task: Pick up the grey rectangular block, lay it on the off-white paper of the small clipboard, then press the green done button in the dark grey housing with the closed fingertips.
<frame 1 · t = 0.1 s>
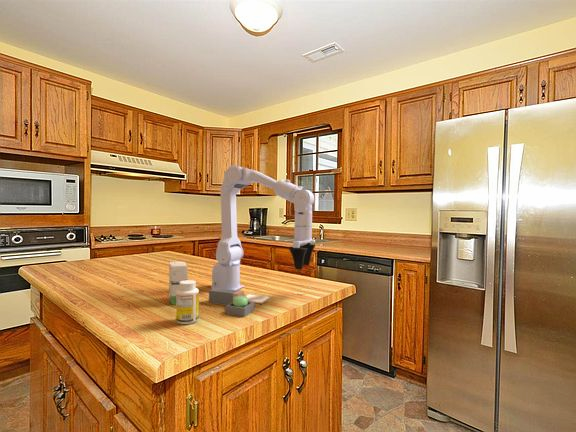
hand: (302, 267, 102), 10 cm above the counter, fingers open, 7 cm apart
done button: (240, 302, 87), point 3 cm above the counter, slide at 0.0 cm
grey rectangular block: (226, 302, 95), on the counter
ink box: (178, 301, 96), on the counter
sheet: (254, 299, 99), on the counter
button housing: (240, 311, 87), on the counter
supplement bottle: (187, 321, 79), on the counter
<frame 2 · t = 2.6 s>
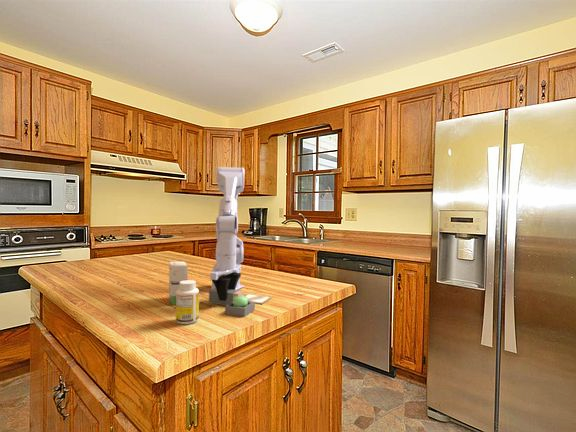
hand: (226, 298, 95), 1 cm above the counter, fingers closed on grey rectangular block, 4 cm apart
grey rectangular block: (226, 302, 95), on the counter, touching gripper
everything else where it was.
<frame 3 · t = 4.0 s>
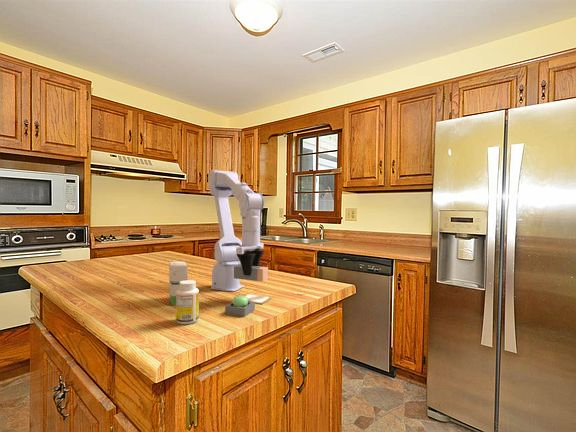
hand: (250, 273, 98), 8 cm above the counter, fingers closed on grey rectangular block, 4 cm apart
grey rectangular block: (250, 278, 98), point 7 cm above the counter, touching gripper
everything else where it was.
when the fingers open (3 cm above the counter, at t = 5.6 s): grey rectangular block stays where it is, resting on sheet.
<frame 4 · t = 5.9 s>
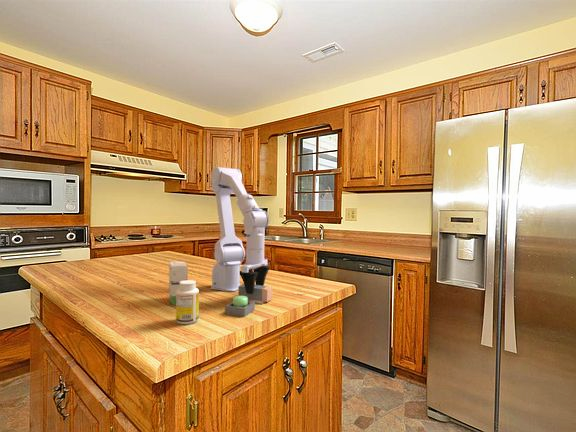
hand: (254, 290, 99), 3 cm above the counter, fingers open, 6 cm apart
grey rectangular block: (255, 298, 99), resting on sheet
everything else where it was.
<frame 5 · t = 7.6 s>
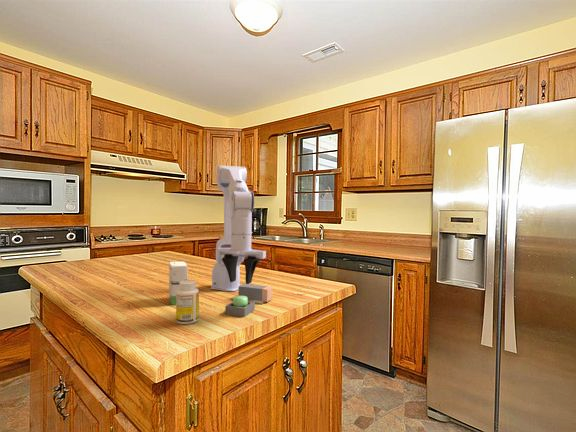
hand: (240, 282, 87), 8 cm above the counter, fingers open, 4 cm apart
nothing on the counter moved.
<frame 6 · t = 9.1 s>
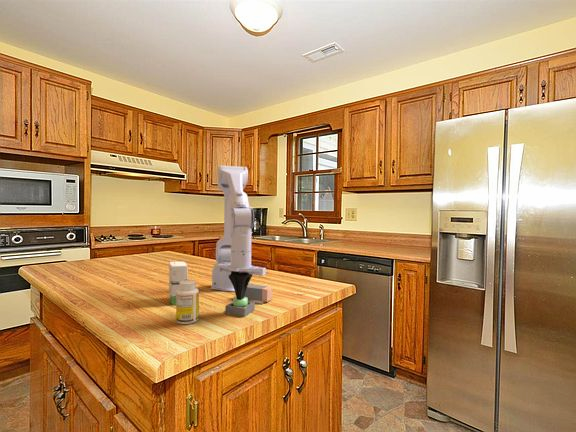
hand: (240, 298, 87), 4 cm above the counter, fingers closed, pressing on done button
done button: (240, 303, 87), point 2 cm above the counter, slide at -0.2 cm, touching gripper
everything else where it was.
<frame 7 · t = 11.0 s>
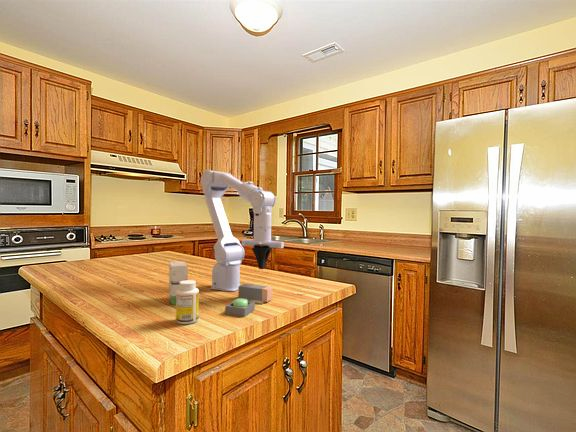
hand: (261, 268, 102), 9 cm above the counter, fingers closed
done button: (240, 305, 87), point 2 cm above the counter, slide at -0.8 cm
everything else where it was.
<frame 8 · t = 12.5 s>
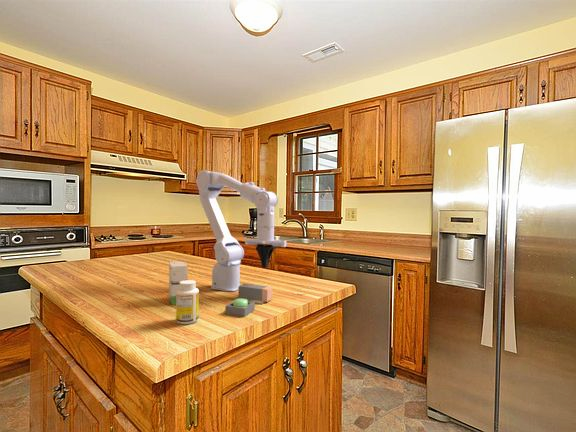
hand: (265, 266, 104), 9 cm above the counter, fingers closed
nothing on the counter moved.
at the end: grey rectangular block inside the target area on the sheet (0.1 cm from its centre), point 0.4 cm above the sheet's base; done button slide at -0.8 cm; the gripper is holding nothing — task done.
